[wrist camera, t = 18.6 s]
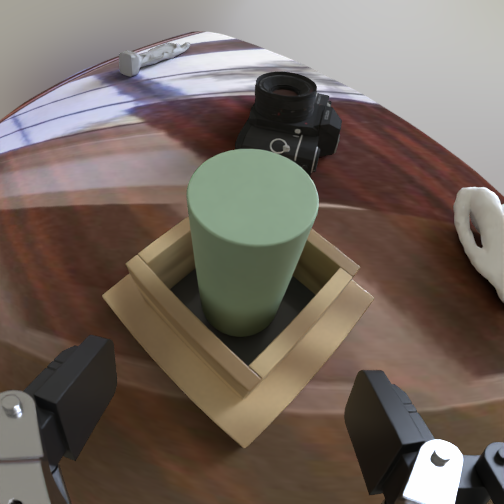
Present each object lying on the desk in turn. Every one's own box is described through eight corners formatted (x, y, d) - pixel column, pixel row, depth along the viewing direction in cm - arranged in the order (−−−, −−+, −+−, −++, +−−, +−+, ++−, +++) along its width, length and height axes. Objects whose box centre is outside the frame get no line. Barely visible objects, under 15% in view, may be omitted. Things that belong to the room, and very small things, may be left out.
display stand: (238, 204, 24) (242, 148, 19) (365, 306, 20) (404, 266, 15) (108, 305, 19) (76, 262, 14) (243, 447, 15) (251, 456, 10)
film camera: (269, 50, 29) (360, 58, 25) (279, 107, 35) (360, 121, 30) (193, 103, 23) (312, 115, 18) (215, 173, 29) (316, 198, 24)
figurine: (119, 74, 35) (118, 51, 33) (182, 54, 42) (182, 34, 39) (133, 77, 34) (131, 54, 31) (197, 57, 41) (198, 37, 38)
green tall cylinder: (239, 253, 19) (250, 134, 12) (293, 300, 18) (343, 195, 10) (185, 299, 18) (159, 188, 10) (240, 353, 16) (257, 274, 9)
